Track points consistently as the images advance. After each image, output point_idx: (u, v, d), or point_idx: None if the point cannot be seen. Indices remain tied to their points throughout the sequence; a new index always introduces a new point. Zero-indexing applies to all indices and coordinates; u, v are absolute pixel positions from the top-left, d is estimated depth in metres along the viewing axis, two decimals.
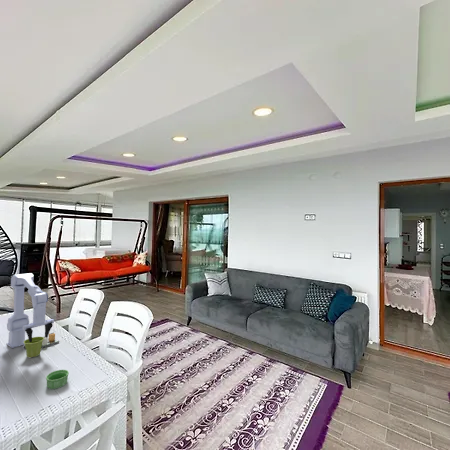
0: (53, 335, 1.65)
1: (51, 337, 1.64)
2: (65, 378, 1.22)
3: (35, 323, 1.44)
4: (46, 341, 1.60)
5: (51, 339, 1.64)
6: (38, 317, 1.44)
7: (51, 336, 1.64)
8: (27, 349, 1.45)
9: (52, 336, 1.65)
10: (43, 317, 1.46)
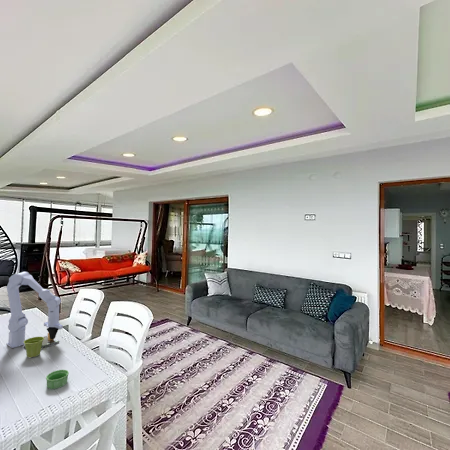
0: None
1: None
2: (65, 378, 1.22)
3: None
4: (46, 341, 1.60)
5: None
6: (48, 319, 1.63)
7: None
8: (27, 349, 1.45)
9: None
10: (50, 320, 1.62)
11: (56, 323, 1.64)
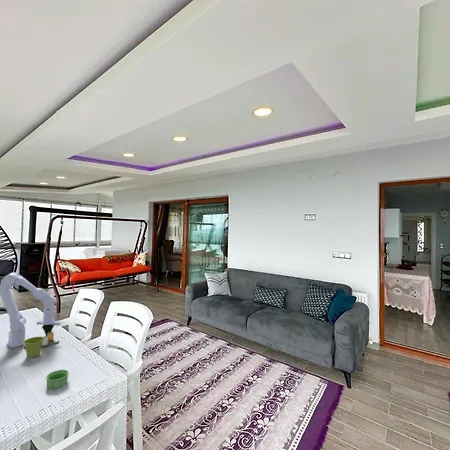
0: (52, 334, 1.66)
1: (50, 336, 1.65)
2: (65, 378, 1.22)
3: (43, 321, 1.67)
4: (46, 341, 1.60)
5: (50, 338, 1.65)
6: (43, 317, 1.66)
7: (50, 335, 1.65)
8: (27, 349, 1.45)
9: (51, 335, 1.66)
10: (47, 318, 1.66)
11: (52, 320, 1.69)
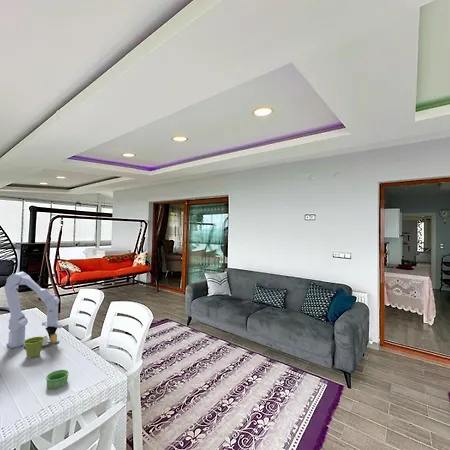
0: (55, 336, 1.64)
1: (53, 338, 1.63)
2: (65, 378, 1.22)
3: None
4: (46, 341, 1.60)
5: (53, 340, 1.63)
6: (47, 318, 1.64)
7: (53, 337, 1.63)
8: (27, 349, 1.45)
9: (54, 337, 1.63)
10: (50, 319, 1.63)
11: (55, 322, 1.65)
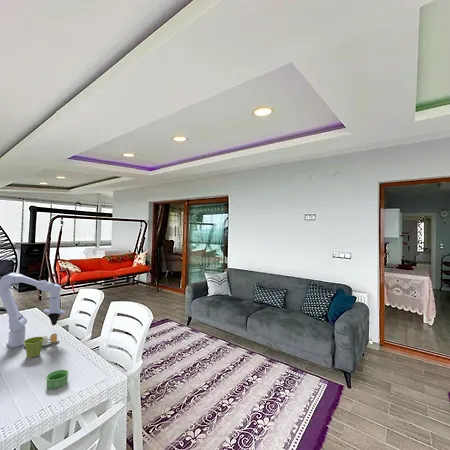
0: (55, 336, 1.64)
1: (53, 338, 1.63)
2: (65, 378, 1.22)
3: (49, 310, 1.67)
4: (46, 341, 1.60)
5: (53, 340, 1.63)
6: (49, 305, 1.66)
7: (53, 337, 1.63)
8: (27, 349, 1.45)
9: (54, 337, 1.63)
10: (53, 306, 1.66)
11: (58, 309, 1.68)
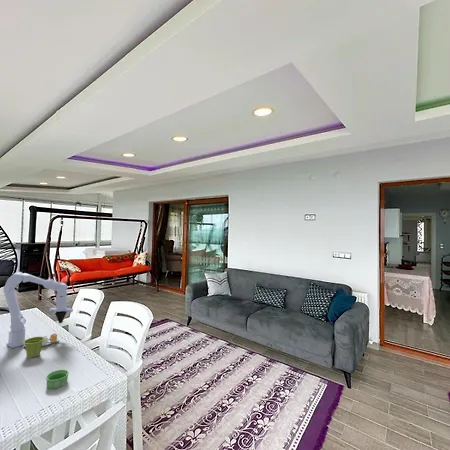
0: (55, 336, 1.64)
1: (53, 338, 1.63)
2: (65, 378, 1.22)
3: (56, 308, 1.71)
4: (46, 341, 1.60)
5: (53, 340, 1.63)
6: (57, 303, 1.70)
7: (53, 337, 1.63)
8: (27, 349, 1.45)
9: (54, 337, 1.63)
10: (60, 305, 1.70)
11: (65, 307, 1.73)
